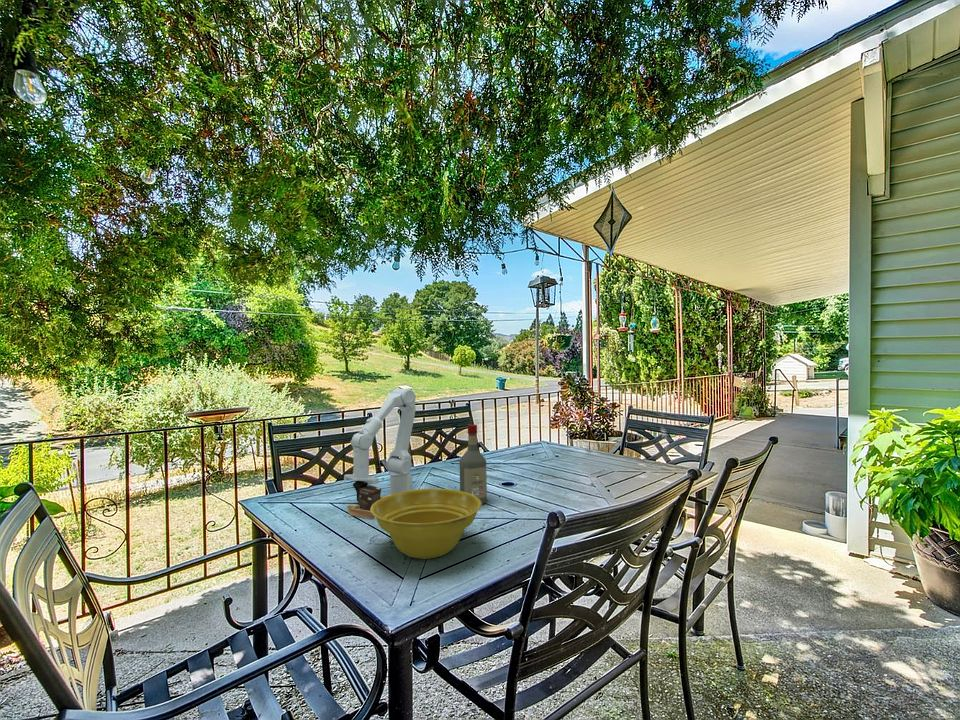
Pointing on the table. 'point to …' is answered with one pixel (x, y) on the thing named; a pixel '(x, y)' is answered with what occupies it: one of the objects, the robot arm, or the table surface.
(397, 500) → the planter bowl
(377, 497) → the box
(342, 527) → the table surface
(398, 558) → the table surface
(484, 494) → the liquor
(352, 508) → the tan bent bars
